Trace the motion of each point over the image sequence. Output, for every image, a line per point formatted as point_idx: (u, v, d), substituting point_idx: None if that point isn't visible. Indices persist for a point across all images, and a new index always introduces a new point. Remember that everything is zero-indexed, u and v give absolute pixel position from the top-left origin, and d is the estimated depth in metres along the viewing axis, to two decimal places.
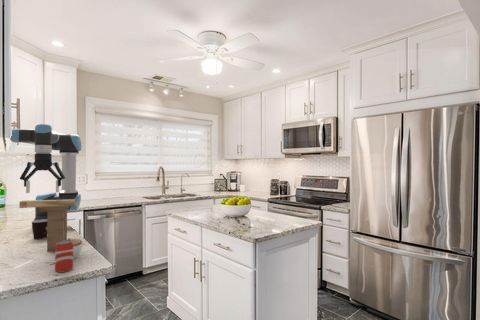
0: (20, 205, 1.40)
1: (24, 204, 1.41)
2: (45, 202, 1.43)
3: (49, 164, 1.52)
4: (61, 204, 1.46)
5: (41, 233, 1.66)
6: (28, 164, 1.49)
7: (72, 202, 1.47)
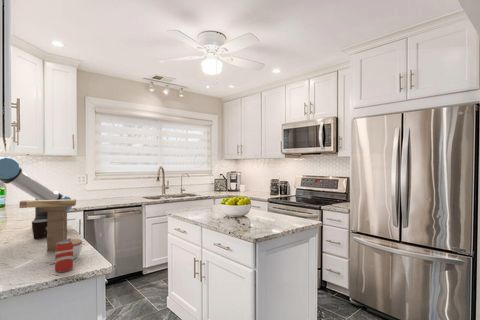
0: (20, 205, 1.40)
1: (24, 204, 1.41)
2: (45, 202, 1.43)
3: None
4: (61, 204, 1.46)
5: (41, 233, 1.66)
6: None
7: (72, 202, 1.47)
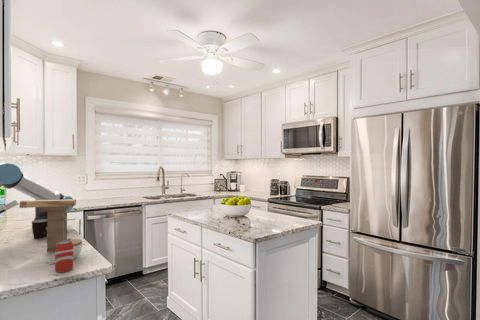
0: (20, 205, 1.40)
1: (24, 204, 1.41)
2: (45, 202, 1.43)
3: None
4: (61, 204, 1.46)
5: (41, 233, 1.66)
6: None
7: (72, 202, 1.47)
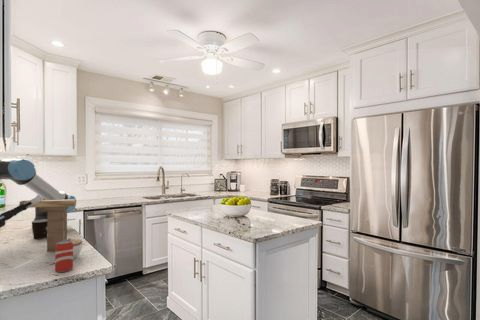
0: None
1: None
2: (45, 202, 1.43)
3: (3, 219, 1.37)
4: (61, 204, 1.46)
5: (41, 233, 1.66)
6: None
7: (72, 202, 1.47)
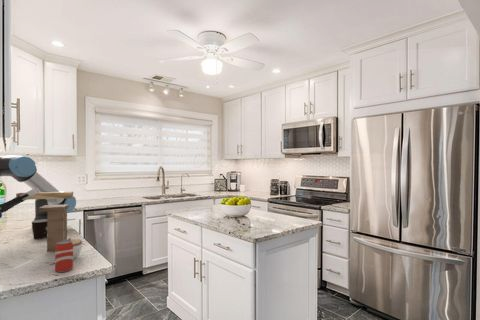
0: None
1: None
2: (42, 194, 1.43)
3: None
4: (58, 196, 1.45)
5: (41, 233, 1.66)
6: None
7: (69, 194, 1.47)
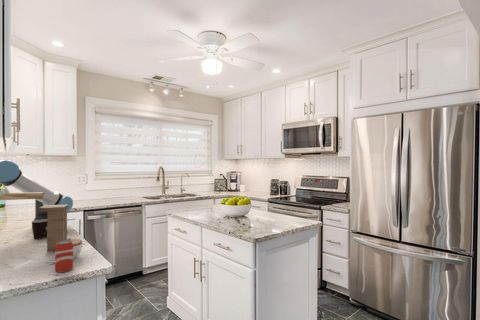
0: None
1: None
2: (11, 195, 1.39)
3: None
4: (28, 197, 1.41)
5: (41, 233, 1.66)
6: None
7: (40, 195, 1.43)
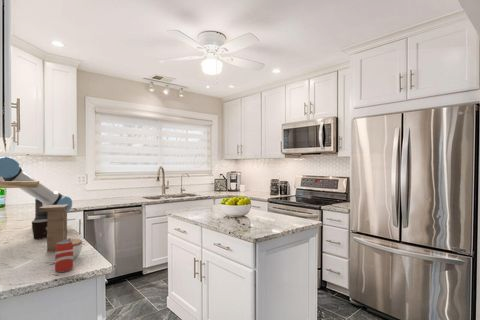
0: None
1: None
2: (5, 183, 1.38)
3: None
4: (22, 185, 1.40)
5: (41, 233, 1.66)
6: None
7: (34, 184, 1.42)
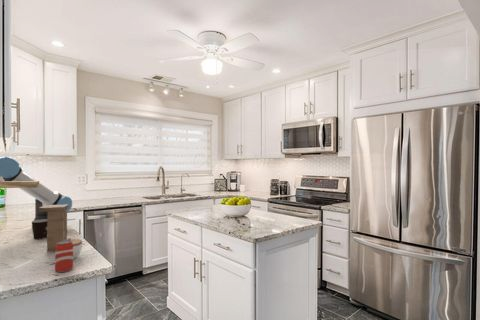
0: None
1: None
2: (5, 183, 1.38)
3: None
4: (22, 185, 1.40)
5: (41, 233, 1.66)
6: None
7: (34, 184, 1.42)
